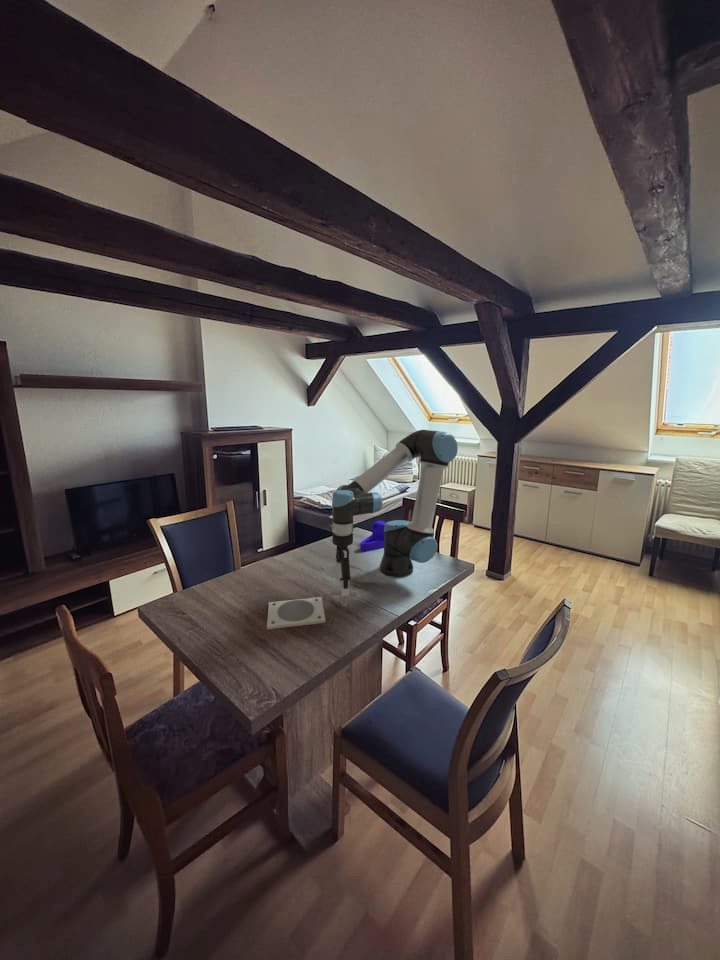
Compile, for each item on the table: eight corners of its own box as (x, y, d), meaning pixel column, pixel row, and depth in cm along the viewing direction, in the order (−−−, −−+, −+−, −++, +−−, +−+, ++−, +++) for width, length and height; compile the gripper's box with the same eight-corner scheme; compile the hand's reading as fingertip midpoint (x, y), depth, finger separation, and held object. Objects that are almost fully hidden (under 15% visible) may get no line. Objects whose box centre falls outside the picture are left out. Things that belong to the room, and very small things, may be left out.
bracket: (377, 539, 210) (378, 519, 208) (392, 545, 203) (393, 524, 200) (354, 548, 198) (354, 527, 196) (369, 554, 191) (369, 532, 188)
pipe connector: (353, 613, 138) (353, 588, 136) (327, 611, 140) (326, 586, 138) (359, 599, 148) (359, 576, 146) (334, 597, 150) (334, 574, 148)
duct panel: (321, 599, 149) (321, 595, 148) (325, 622, 133) (325, 618, 133) (269, 604, 145) (268, 600, 145) (267, 629, 130) (266, 625, 129)
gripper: (328, 522, 149) (328, 572, 154) (336, 546, 125) (336, 604, 130) (347, 521, 151) (347, 571, 155) (359, 544, 127) (358, 602, 131)
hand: (342, 586), depth 142 cm, fingers open, 13 cm apart
